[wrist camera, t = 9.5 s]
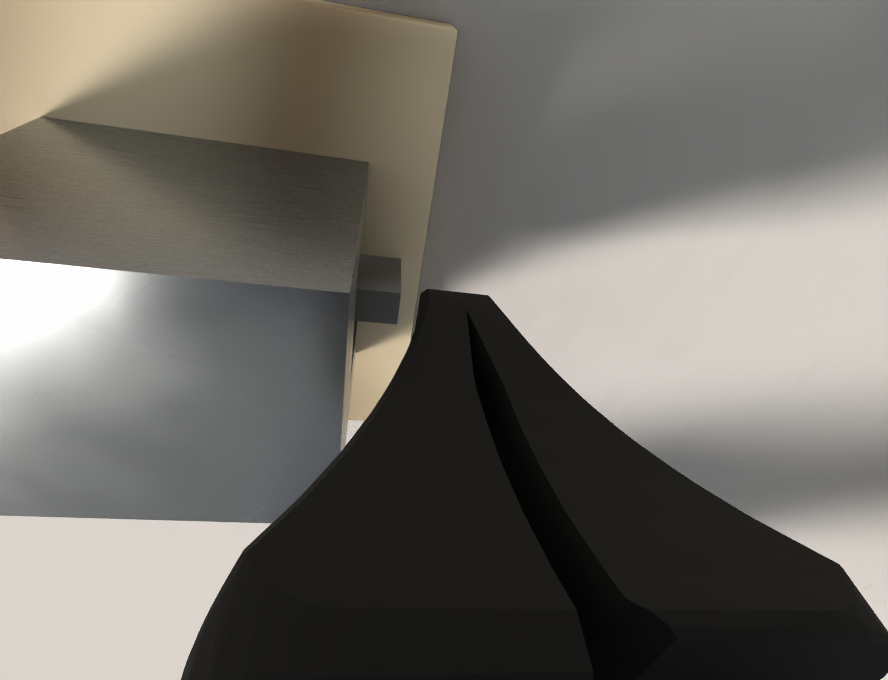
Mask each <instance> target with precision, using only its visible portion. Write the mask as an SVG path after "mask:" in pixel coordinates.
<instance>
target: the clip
mask: <svg viewBox="0 0 888 680" xmlns="http://www.w3.org/2000/svg"><path fill="white" fill-rule="evenodd" d="M368 171H369V162H366V161H359V160H352V159H345V158H337V157H330V156H323V155H316V154H309V153H301V152H294V151H287V150H280V149H273V148H265V147H258V146H251V145H244V144H236V143H229V142H222V141H215V140H208V139H200V138H193V137H186V136H179V135H172V134H164V133H157V132H150V131H143V130H135V129H128V128H121V127H114V126H107V125H99V124H92V123H85V122H78V121H71V120H63V119H56V118H49V117H42V116H41V117H39V118H37V119H34V120H32V121H30V122H28V123H25V124H23V125H21V126H19V127H16V128H14V129H12V130H10V131H7V132H5V133H3V134H1V135H0V515H4V516H39V517H74V518H109V519H143V520H178V521H213V522H248V523H273V522H274V521H275V520H276V519H277V518H278V517H279V516H280V515H281V514H282V513H283V512H285V511H286V510H287V509H288V508H289V507H290V506H291V505H292V504H293V503H294V502H295V501H296V500H297V499H298V498H299V497H300V496H301V495H302V494H303V493H304V492H305V491H306V490H307V489H308V488H309V487H310V485H311V484H312V483H313V482H314V481H315V480H316V479H317V478H318V477H319V475H320V474H321V473H322V472H323V471H324V470H325V469H326V468H327V467H328V466H329V464H330V463H331V462H332V461H333V460H334V459H335V458H336V457H337V456H338V454H339V453H340V452H341V451H342V450H343V448H344V447H345V442H346V433H347V424H348V415H349V406H350V397H351V388H352V379H353V370H354V361H355V352H356V338H357V324H358V321H354V320H355V305H356V290H357V277H358V269H359V261H360V254H361V246H362V239H363V231H364V224H365V213H366V199H367V185H368Z"/></svg>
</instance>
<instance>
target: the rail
mask: <svg viewBox="0 0 888 680" xmlns="http://www.w3.org/2000/svg"><path fill="white" fill-rule="evenodd" d="M457 33H458V31H457V30H456V29H455V28H454V26H453V25H452V24H447V23H442V22H436V21H431V20H426V19H420V18H415V17H410V16H404V15H399V14H393V13H388V12H383V11H377V10H372V9H366V8H361V7H356V6H350V5H345V4H339V3H334V2H329V1H323V0H0V135H1V134H3V133H5V132H7V131H10V130H12V129H14V128H16V127H19V126H21V125H23V124H25V123H28V122H30V121H32V120H34V119H37V118H39V117H41V116H42V117H49V118H56V119H63V120H71V121H78V122H85V123H92V124H99V125H107V126H114V127H121V128H128V129H135V130H143V131H150V132H157V133H164V134H172V135H179V136H186V137H193V138H200V139H208V140H215V141H222V142H229V143H236V144H244V145H251V146H258V147H265V148H273V149H280V150H287V151H294V152H301V153H309V154H316V155H323V156H330V157H337V158H345V159H352V160H359V161H366V162H369V171H368V185H367V199H366V213H365V224H364V231H363V239H362V246H361V254H360V261H359V269H358V277H357V290H356V305H355V320H354V321H358V324H357V338H356V352H355V361H354V370H353V379H352V388H351V397H350V406H349V415H348V420H362V421H365V420H366V418H367V417H368V416H369V414H370V413H371V412H372V410H373V409H374V407H375V406H376V404H377V403H378V401H379V400H380V398H381V397H382V395H383V393H384V392H385V390H386V388H387V387H388V385H389V383H390V382H391V380H392V378H393V376H394V375H395V373H396V371H397V369H398V367H399V365H400V363H401V361H402V359H403V357H404V355H405V353H406V351H407V349H408V347H409V344H410V340H411V333H412V327H413V320H414V314H415V307H416V301H417V294H418V288H419V281H420V275H421V268H422V262H423V255H424V248H425V242H426V235H427V229H428V222H429V216H430V209H431V203H432V196H433V190H434V183H435V177H436V170H437V164H438V157H439V151H440V144H441V137H442V131H443V124H444V118H445V111H446V105H447V98H448V92H449V85H450V79H451V72H452V66H453V59H454V53H455V46H456V39H457Z"/></svg>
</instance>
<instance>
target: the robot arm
mask: <svg viewBox="0 0 888 680" xmlns="http://www.w3.org/2000/svg"><path fill="white" fill-rule="evenodd" d="M887 673H888V631H887V629H886V628H885V627H884V625H883V624H882V623H881V621H880V620H879V618H878V617H877V616H876V614H875V613H874V611H873V610H872V609H871V607H870V606H869V604H868V603H867V602H866V600H865V599H864V597H863V596H862V595H861V593H860V592H859V590H858V589H857V588H856V586H855V585H854V583H853V582H852V581H851V579H850V578H849V576H848V575H847V574H846V572H845V571H844V569H843V568H842V567H841V566H840V565H839V564H838V563H836V562H834V561H832V560H830V559H828V558H826V557H824V556H823V555H821V554H819V553H817V552H815V551H813V550H811V549H809V548H808V547H806V546H804V545H802V544H800V543H798V542H796V541H795V540H793V539H791V538H789V537H787V536H785V535H783V534H781V533H780V532H778V531H776V530H774V529H772V528H770V527H768V526H767V525H765V524H763V523H761V522H759V521H757V520H755V519H754V518H752V517H750V516H748V515H747V514H745V513H743V512H742V511H740V510H738V509H737V508H735V507H733V506H732V505H730V504H728V503H727V502H725V501H723V500H722V499H720V498H719V497H717V496H715V495H714V494H712V493H710V492H709V491H707V490H705V489H704V488H702V487H701V486H699V485H697V484H696V483H694V482H693V481H691V480H690V479H688V478H687V477H685V476H684V475H682V474H681V473H679V472H678V471H676V470H675V469H673V468H672V467H670V466H669V465H667V464H666V463H665V462H663V461H662V460H660V459H659V458H658V457H656V456H655V455H653V454H652V453H651V452H649V451H648V450H646V449H645V448H644V447H642V446H641V445H639V444H638V443H637V442H635V441H634V440H633V439H631V438H630V437H629V436H628V435H626V434H625V433H624V432H622V431H621V430H620V429H619V428H617V427H616V426H615V425H614V424H613V423H611V422H610V421H609V420H608V419H607V418H605V417H604V416H603V415H602V414H601V413H599V412H598V411H597V410H596V409H595V408H593V407H592V406H591V405H590V404H589V403H588V402H587V401H586V400H584V399H583V398H582V397H581V396H580V395H579V394H578V393H577V392H576V391H575V390H574V389H573V388H572V387H571V386H570V385H569V384H568V383H567V382H566V381H565V380H563V379H562V378H561V377H560V376H559V375H558V374H557V373H556V372H555V371H554V370H553V369H552V367H551V366H550V365H549V364H548V363H547V362H546V361H545V360H544V359H543V358H542V357H541V356H540V355H539V354H538V353H537V351H536V350H535V349H534V348H533V347H532V346H531V345H530V344H529V343H528V341H527V340H526V339H525V338H524V337H523V336H522V334H521V333H520V332H519V331H518V330H517V329H516V327H515V326H514V325H513V324H512V323H511V321H510V320H509V319H508V318H507V317H506V316H505V314H504V313H503V312H502V311H501V310H500V308H499V307H498V306H497V305H496V304H495V302H494V301H493V300H492V299H491V298H490V297H489V296H488V295H480V294H470V293H461V292H451V291H442V290H433V289H427V290H425V291H424V292H422V293H421V296H420V302H419V308H418V314H417V320H416V326H415V331H414V334H413V336H412V339H411V342H410V344H409V347H408V349H407V351H406V353H405V355H404V357H403V359H402V361H401V363H400V365H399V367H398V369H397V371H396V373H395V375H394V376H393V378H392V380H391V382H390V383H389V385H388V387H387V388H386V390H385V392H384V393H383V395H382V397H381V398H380V400H379V401H378V403H377V404H376V406H375V407H374V409H373V410H372V412H371V413H370V414H369V416H368V417H367V418H366V420H365V421H364V423H363V424H362V425H361V427H360V428H359V429H358V431H357V432H356V433H355V435H354V436H353V437H352V439H351V440H350V441H349V442H348V444H347V445H346V446H345V447H344V448H343V450H342V451H341V452H340V453H339V454H338V456H337V457H336V458H335V459H334V460H333V461H332V462H331V463H330V464H329V466H328V467H327V468H326V469H325V470H324V471H323V472H322V473H321V474H320V475H319V477H318V478H317V479H316V480H315V481H314V482H313V483H312V484H311V485H310V487H309V488H308V489H307V490H306V491H305V492H304V493H303V494H302V495H301V496H300V497H299V498H298V499H297V500H296V501H295V502H294V503H293V504H292V505H291V506H290V507H289V508H288V509H287V510H286V511H285V512H283V513H282V514H281V515H280V516H279V517H278V518H277V519H276V520H275V521H274V522H273V523H272V524H271V525H270V526H269V527H268V528H267V529H265V530H264V531H263V532H262V533H261V534H260V535H259V536H258V537H257V538H256V539H255V540H254V541H253V542H252V543H251V544H250V545H248V546H247V547H246V548H245V549H244V551H243V552H242V554H241V556H240V557H239V559H238V560H237V562H236V564H235V565H234V567H233V569H232V571H231V572H230V574H229V576H228V578H227V579H226V581H225V583H224V584H223V586H222V588H221V590H220V591H219V593H218V595H217V597H216V599H215V601H214V603H213V604H212V606H211V608H210V610H209V612H208V614H207V616H206V618H205V620H204V622H203V624H202V627H201V629H200V631H199V633H198V635H197V638H196V640H195V643H194V645H193V648H192V650H191V652H190V654H189V657H188V660H187V662H186V665H185V668H184V671H183V675H182V678H181V680H880V679H882V678H883V677H884V676H885V675H886V674H887Z"/></svg>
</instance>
